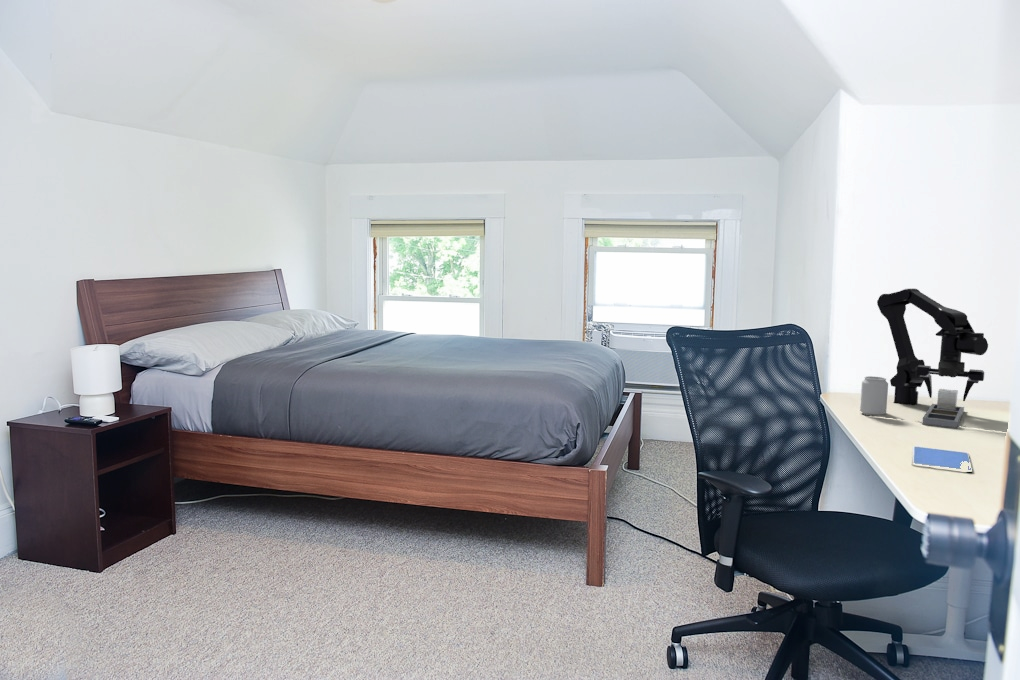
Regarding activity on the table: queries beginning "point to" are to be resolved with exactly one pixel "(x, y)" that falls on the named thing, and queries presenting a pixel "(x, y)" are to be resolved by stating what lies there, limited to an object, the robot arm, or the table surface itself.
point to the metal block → (947, 399)
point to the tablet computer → (939, 457)
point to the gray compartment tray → (943, 417)
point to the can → (874, 396)
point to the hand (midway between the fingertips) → (947, 399)
